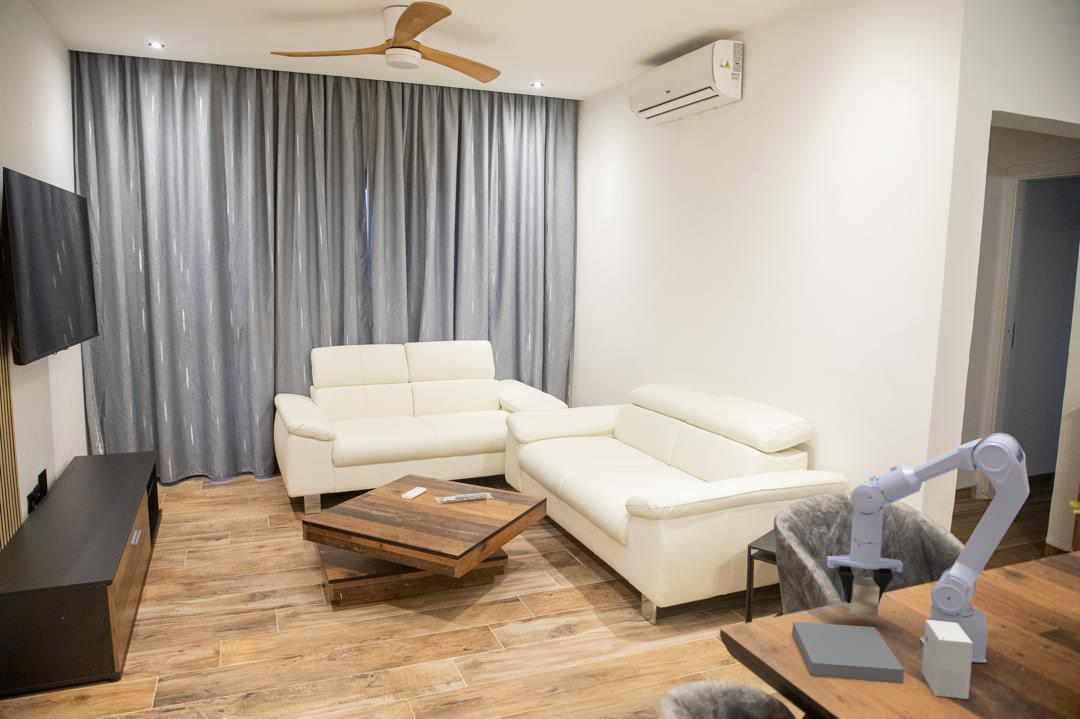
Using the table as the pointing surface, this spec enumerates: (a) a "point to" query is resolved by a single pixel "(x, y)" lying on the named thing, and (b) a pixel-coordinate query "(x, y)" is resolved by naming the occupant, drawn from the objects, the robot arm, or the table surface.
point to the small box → (947, 659)
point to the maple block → (864, 597)
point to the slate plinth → (846, 652)
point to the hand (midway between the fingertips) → (861, 601)
